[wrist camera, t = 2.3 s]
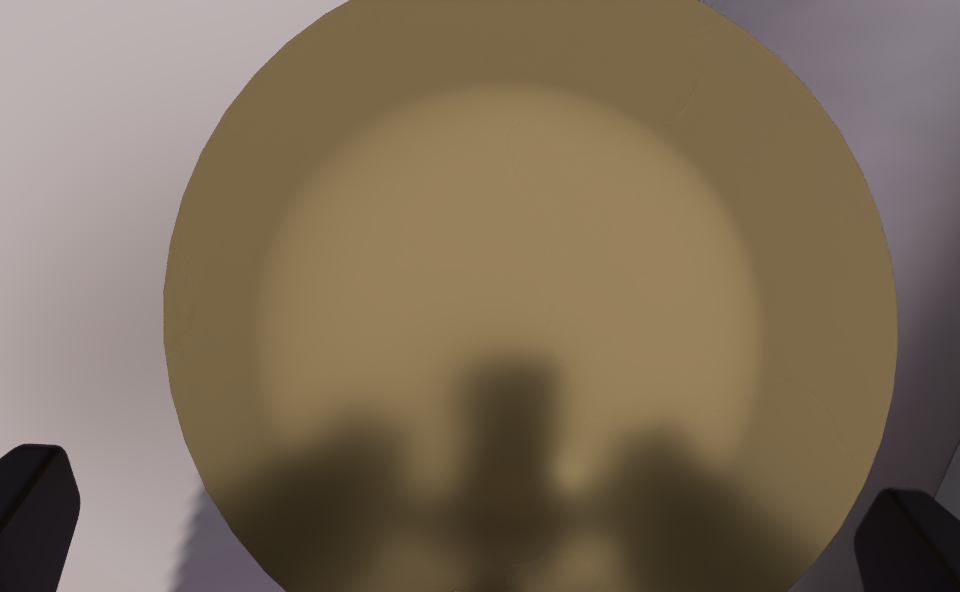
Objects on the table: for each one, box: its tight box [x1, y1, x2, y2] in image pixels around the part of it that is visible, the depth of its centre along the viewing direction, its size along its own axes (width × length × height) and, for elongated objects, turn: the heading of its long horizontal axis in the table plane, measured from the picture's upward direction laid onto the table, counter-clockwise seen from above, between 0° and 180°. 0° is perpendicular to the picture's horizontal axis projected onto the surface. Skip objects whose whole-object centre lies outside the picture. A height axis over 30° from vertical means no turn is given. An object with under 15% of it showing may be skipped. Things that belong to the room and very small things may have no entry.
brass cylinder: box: [164, 0, 898, 592], centre depth 12 cm, size 5×5×13 cm
